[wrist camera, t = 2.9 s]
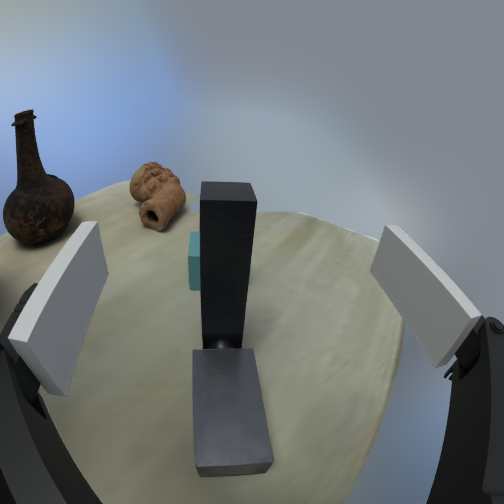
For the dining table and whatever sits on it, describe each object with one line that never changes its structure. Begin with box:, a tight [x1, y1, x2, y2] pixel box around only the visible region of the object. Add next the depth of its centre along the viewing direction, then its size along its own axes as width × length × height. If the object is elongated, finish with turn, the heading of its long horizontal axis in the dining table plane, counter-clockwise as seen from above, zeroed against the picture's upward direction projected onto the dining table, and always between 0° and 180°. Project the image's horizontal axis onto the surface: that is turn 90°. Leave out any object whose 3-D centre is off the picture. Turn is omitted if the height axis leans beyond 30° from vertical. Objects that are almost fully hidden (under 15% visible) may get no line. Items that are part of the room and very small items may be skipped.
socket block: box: [188, 232, 201, 290], centre depth 43 cm, size 7×8×6 cm
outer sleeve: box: [193, 348, 274, 477], centre depth 23 cm, size 12×6×5 cm, turn 7°
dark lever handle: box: [200, 182, 257, 350], centre depth 23 cm, size 19×4×19 cm, turn 7°
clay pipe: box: [130, 162, 186, 232], centre depth 60 cm, size 19×11×15 cm
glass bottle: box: [3, 110, 74, 244], centre depth 42 cm, size 18×18×28 cm
